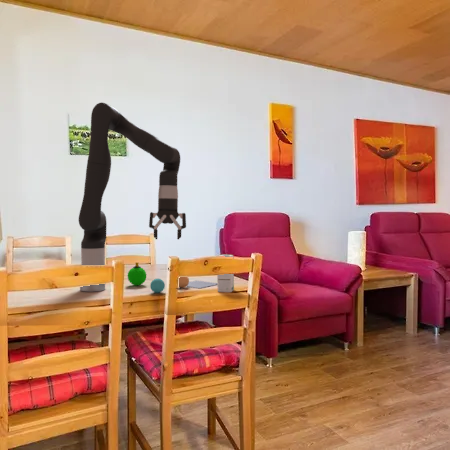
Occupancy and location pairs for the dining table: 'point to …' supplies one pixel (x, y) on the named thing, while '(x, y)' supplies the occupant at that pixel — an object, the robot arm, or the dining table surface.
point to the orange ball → (183, 282)
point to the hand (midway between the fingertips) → (167, 239)
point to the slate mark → (200, 284)
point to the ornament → (137, 275)
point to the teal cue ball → (157, 285)
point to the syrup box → (225, 281)
